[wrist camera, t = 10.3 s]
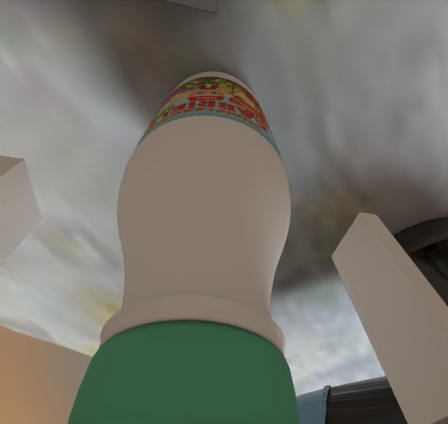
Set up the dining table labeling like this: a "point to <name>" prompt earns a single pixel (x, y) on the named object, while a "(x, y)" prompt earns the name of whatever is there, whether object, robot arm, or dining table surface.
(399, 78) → the dining table surface
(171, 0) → the grey square slab
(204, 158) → the milk bottle
